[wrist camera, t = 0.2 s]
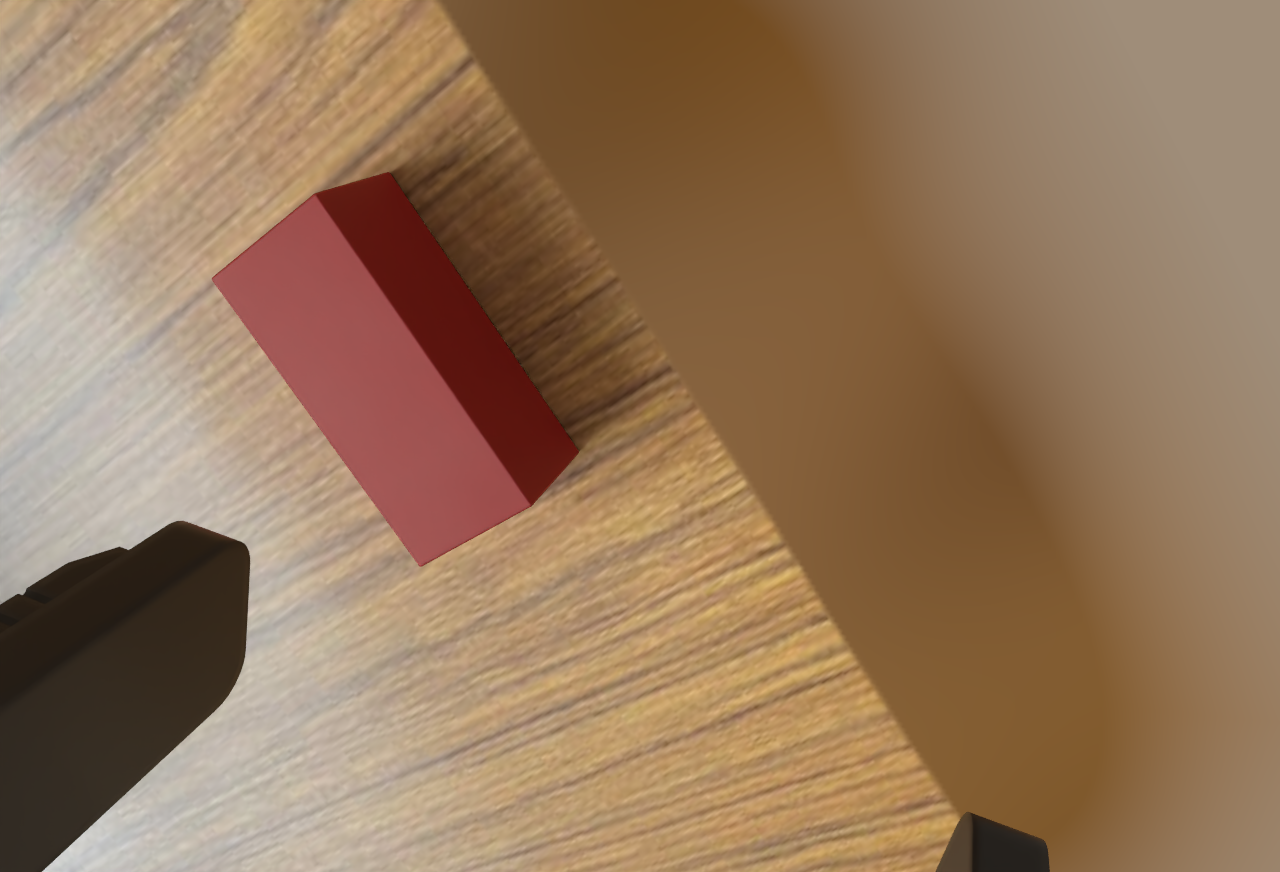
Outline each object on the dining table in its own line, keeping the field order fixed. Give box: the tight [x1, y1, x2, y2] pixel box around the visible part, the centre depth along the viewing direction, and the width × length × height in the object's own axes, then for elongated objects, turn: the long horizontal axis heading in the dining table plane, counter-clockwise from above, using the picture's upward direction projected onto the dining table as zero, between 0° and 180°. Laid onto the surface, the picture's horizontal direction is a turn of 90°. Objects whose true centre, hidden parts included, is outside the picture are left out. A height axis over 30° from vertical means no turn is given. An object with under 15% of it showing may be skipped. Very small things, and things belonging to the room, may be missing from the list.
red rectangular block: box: [212, 172, 579, 567], centre depth 28 cm, size 9×4×4 cm, turn 35°
